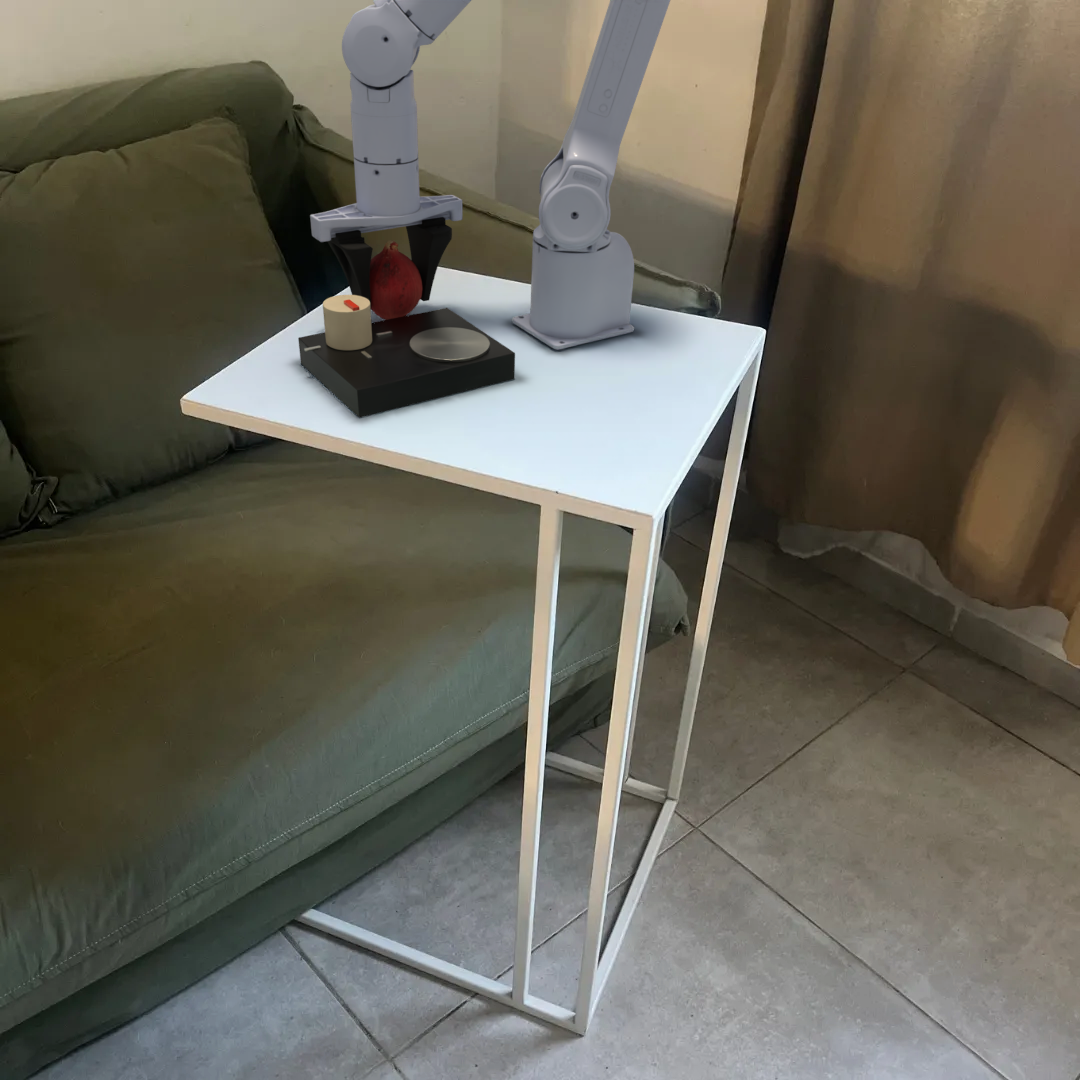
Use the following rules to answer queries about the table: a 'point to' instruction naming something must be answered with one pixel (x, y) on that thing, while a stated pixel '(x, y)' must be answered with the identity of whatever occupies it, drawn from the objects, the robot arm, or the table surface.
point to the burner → (449, 345)
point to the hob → (401, 365)
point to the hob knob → (347, 322)
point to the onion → (393, 283)
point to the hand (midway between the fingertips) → (392, 303)
